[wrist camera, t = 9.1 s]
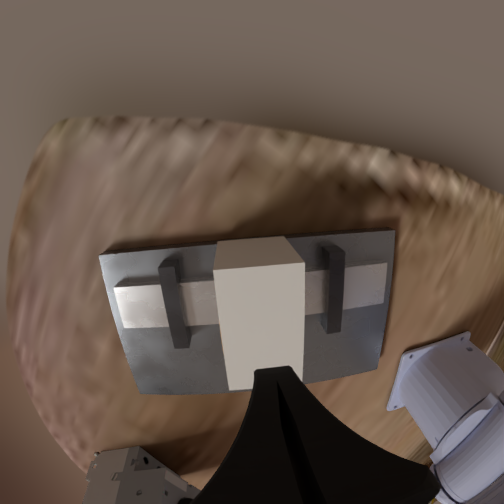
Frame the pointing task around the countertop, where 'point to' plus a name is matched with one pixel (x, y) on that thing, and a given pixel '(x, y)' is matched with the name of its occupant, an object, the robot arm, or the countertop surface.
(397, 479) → the robot arm
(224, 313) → the block
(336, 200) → the countertop surface
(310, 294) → the rail board
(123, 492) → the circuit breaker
